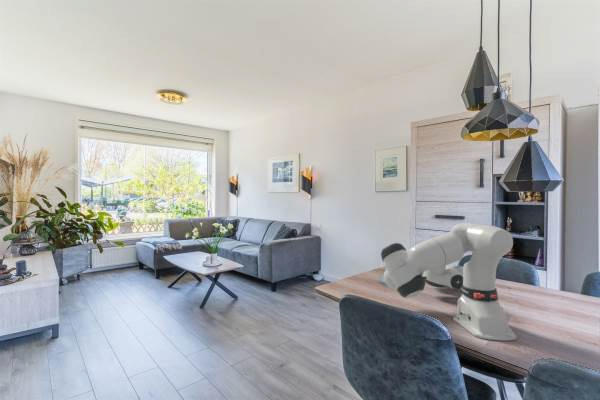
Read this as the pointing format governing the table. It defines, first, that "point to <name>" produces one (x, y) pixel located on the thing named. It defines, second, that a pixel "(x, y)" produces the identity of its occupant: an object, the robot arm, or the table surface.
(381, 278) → the slate plate
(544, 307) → the table surface
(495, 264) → the robot arm
